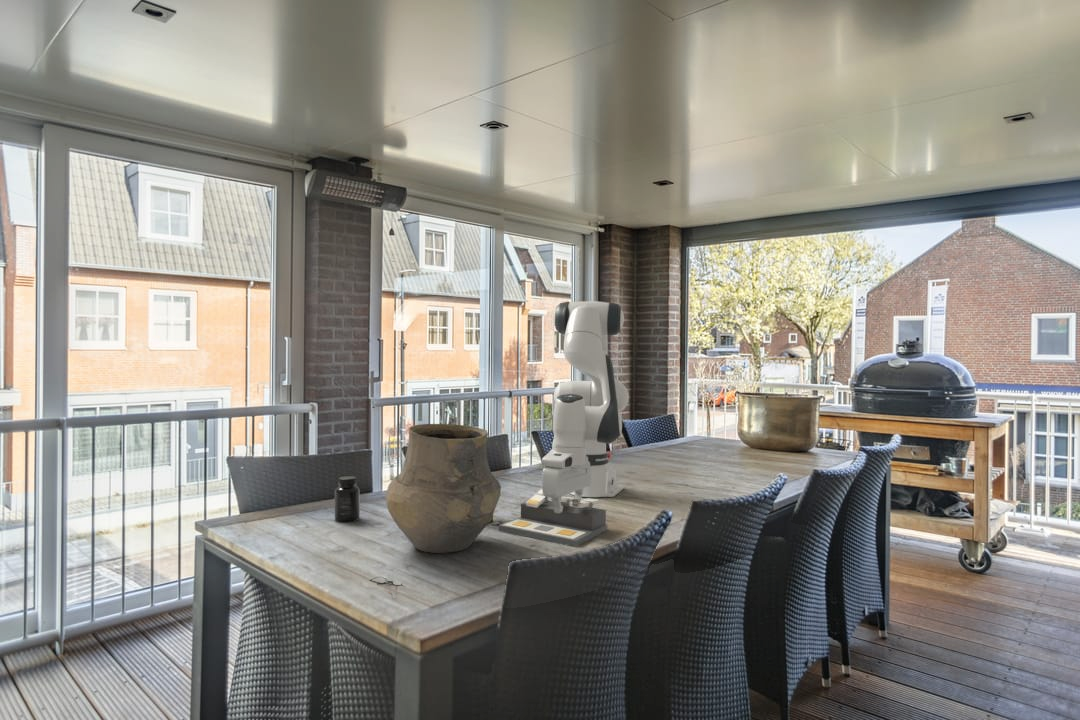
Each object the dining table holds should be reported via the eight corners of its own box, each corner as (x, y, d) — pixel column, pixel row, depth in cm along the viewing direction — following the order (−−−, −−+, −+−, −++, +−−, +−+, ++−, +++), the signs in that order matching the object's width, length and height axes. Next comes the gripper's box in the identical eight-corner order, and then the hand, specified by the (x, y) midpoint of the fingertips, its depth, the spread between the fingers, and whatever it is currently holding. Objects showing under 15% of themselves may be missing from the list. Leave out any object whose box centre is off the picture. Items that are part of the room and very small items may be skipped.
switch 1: (546, 492, 188) (545, 484, 187) (557, 493, 186) (556, 486, 186) (526, 510, 179) (525, 502, 179) (537, 511, 177) (536, 504, 177)
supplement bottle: (364, 518, 184) (365, 476, 184) (348, 523, 178) (348, 481, 177) (346, 515, 187) (346, 474, 186) (329, 520, 180) (329, 478, 180)
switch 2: (566, 505, 184) (567, 496, 184) (577, 506, 182) (578, 498, 182) (546, 504, 175) (548, 495, 175) (558, 506, 173) (559, 497, 173)
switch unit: (534, 516, 189) (534, 498, 188) (607, 530, 176) (607, 510, 176) (498, 530, 173) (498, 510, 173) (575, 546, 161) (576, 525, 160)
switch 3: (588, 506, 180) (588, 497, 181) (599, 508, 179) (599, 499, 179) (569, 510, 171) (569, 501, 171) (580, 512, 169) (581, 503, 169)
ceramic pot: (447, 524, 179) (449, 418, 178) (524, 545, 161) (526, 427, 160) (362, 547, 157) (363, 426, 156) (439, 575, 139) (441, 438, 138)
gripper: (577, 451, 177) (576, 500, 177) (538, 459, 160) (536, 514, 160) (597, 453, 174) (596, 503, 174) (559, 462, 157) (558, 518, 156)
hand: (567, 509), depth 167 cm, fingers open, 8 cm apart
